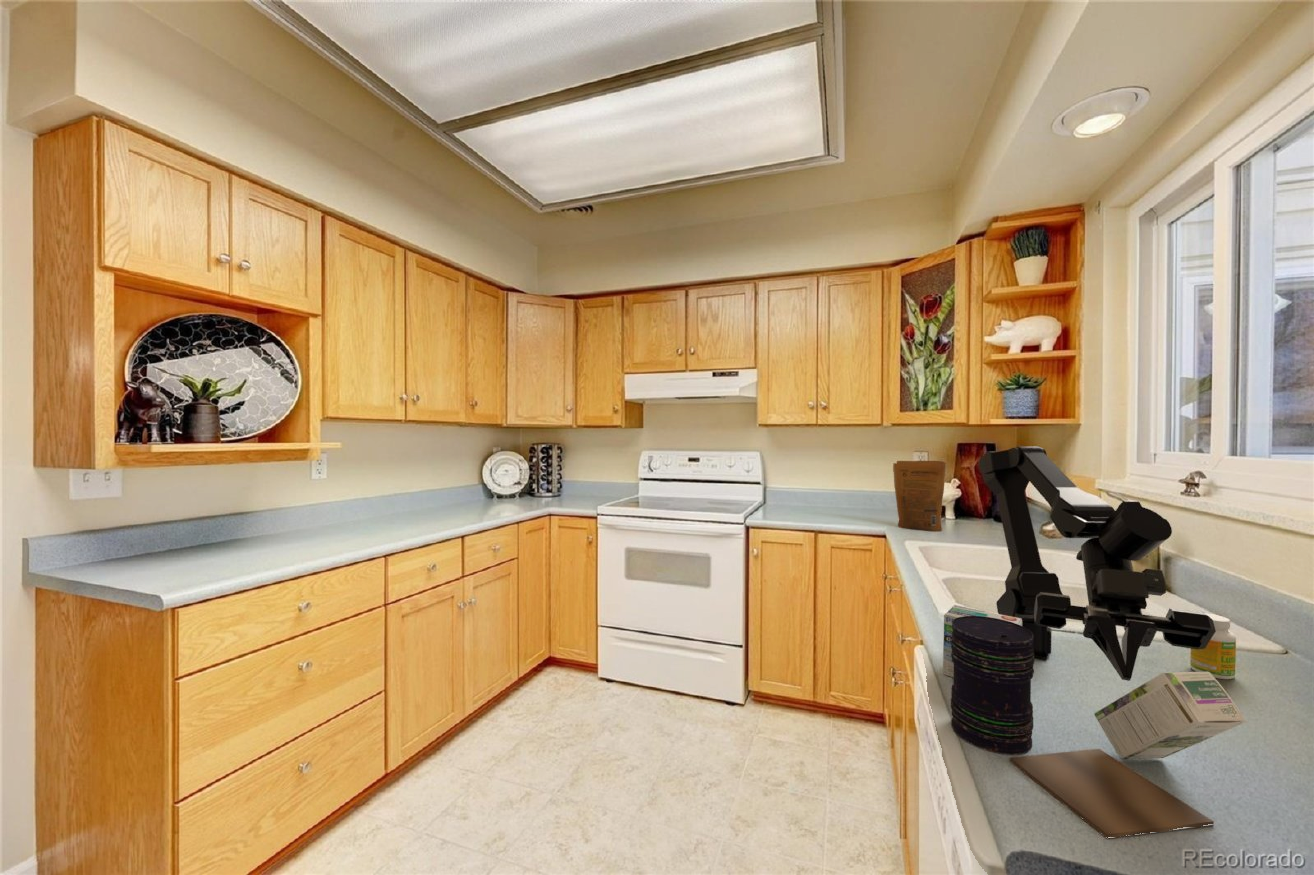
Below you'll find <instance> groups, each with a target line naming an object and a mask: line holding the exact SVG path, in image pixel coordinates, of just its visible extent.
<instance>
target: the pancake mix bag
mask: <svg viewBox="0 0 1314 875" xmlns="http://www.w3.org/2000/svg"><path fill="white" fill-rule="evenodd" d="M946 469H947V462H945V461H943V460H942V461H941V460H897V461H896V463H895V462H894V463H893V466H892V471H893V484H894V485H893V487H894V494H895V500H896V510H897V516H898V524H897V527H899V528H901V529H906V530H919V531H927V532H942V531H943V526H942V519H941V517H942V511H943V498H944V497H943V496H944V492H945V478H946V474H947V473H946V472H947V470H946Z"/></svg>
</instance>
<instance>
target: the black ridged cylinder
mask: <svg viewBox="0 0 1314 875" xmlns="http://www.w3.org/2000/svg"><path fill="white" fill-rule="evenodd" d="M952 629H953V631H952V639H951V649H952V653H951V657H952V662H953V663H954V677H953V684H952V685H951V692H950V693H951V696H950V710H951V717H952V718H951V723H950V725H951V729H952V731H953V732H954V733H955V734H956V735H957V736H958V737H959V738H960V739H961V740H963V741H965V742H966V743H968V744H970V745H971V746H974V747H976V748H978V749H981V750H984V751H987V752H991V753H994V754H998V755H999V754H1000V755H1005V756H1006V755H1007V756H1008V755H1009V756H1017V755H1018V756H1019V755H1024V754H1026V753H1028V752H1029V751H1031V750H1032V748H1033V739H1032V735H1033V730H1034V721H1035V720H1034V716H1033V715H1034V706H1033V703H1032V701H1031V699H1032V696H1031V695H1032V693H1031V692H1032V691H1031V690H1032V689H1031V688H1032V682H1031V681H1032V679H1033V678H1034V673H1035V670H1034V665H1035V657H1034V653H1033V645H1032V644H1033V634H1032V632H1031V631H1030V630H1028V629H1027V628H1025V627H1023V626H1020V625H1018V624H1015V623H1012V622H1009V621H1005V620H1001V619H997V618H991V617H983V616H963V617H958V618H955V619H954V620H953V621H952Z"/></svg>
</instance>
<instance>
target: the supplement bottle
mask: <svg viewBox="0 0 1314 875" xmlns="http://www.w3.org/2000/svg"><path fill="white" fill-rule="evenodd" d="M1204 613H1205V612H1204ZM1205 614H1207V615H1208V616H1209V617H1210V618H1211V619H1212V620H1213V623H1214V626H1215V630H1216V632H1215V633H1214V635H1213V637H1212V638H1211V640H1210V641H1209V643H1208V645H1207V646H1206V648H1205V649H1199V650H1197V649H1191V648H1190V657H1189V658H1190V659H1189V661H1190V662H1189V663H1190V666H1189V667H1190V668H1191V670H1193V672H1210V673H1211V674H1212V676H1213V677H1214V678H1215V679H1220V680H1232V679H1234V678H1235V677H1236V657H1237V654H1236V653H1237V650H1236V649H1237V637H1236V635H1235V633H1233V632H1231V631H1230V629H1231V620H1230V619H1229V618H1227V617H1225V616H1221V615H1218V614H1214V613H1213V614H1211V613H1205Z"/></svg>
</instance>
